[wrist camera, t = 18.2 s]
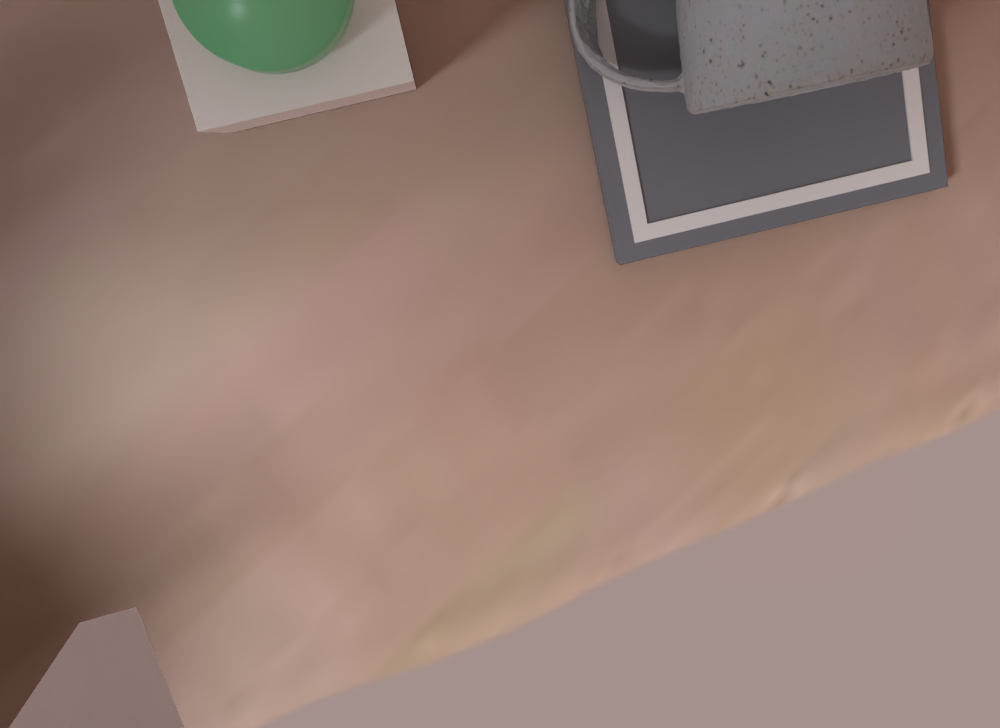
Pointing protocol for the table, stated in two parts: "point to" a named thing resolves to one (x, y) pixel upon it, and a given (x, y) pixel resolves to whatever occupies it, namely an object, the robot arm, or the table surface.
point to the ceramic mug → (773, 47)
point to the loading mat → (744, 144)
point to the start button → (267, 30)
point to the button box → (294, 73)
